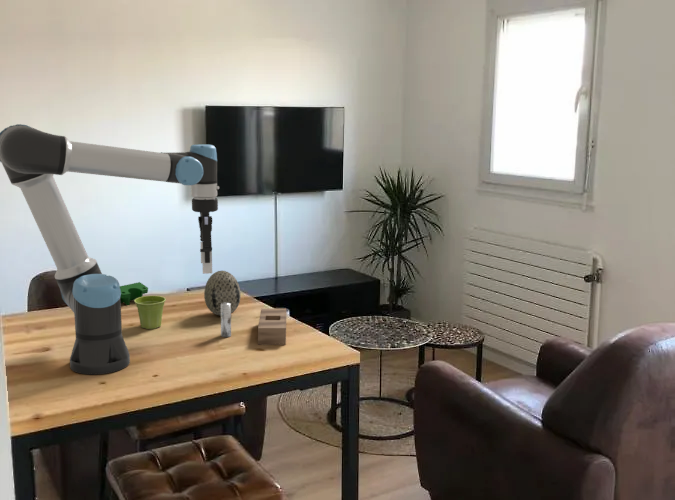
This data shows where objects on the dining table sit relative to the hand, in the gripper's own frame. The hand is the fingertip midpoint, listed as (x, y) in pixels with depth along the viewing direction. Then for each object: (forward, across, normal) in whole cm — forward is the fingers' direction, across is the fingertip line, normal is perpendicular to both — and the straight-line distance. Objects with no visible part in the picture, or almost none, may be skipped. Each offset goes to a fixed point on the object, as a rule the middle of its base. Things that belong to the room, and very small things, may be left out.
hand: (206, 267), depth 217 cm
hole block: (+20, -5, -19) cm, 28 cm away
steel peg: (+20, -5, -5) cm, 21 cm away
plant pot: (+20, +8, +17) cm, 28 cm away
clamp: (+20, +37, +25) cm, 49 cm away
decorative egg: (+20, +16, -6) cm, 27 cm away
